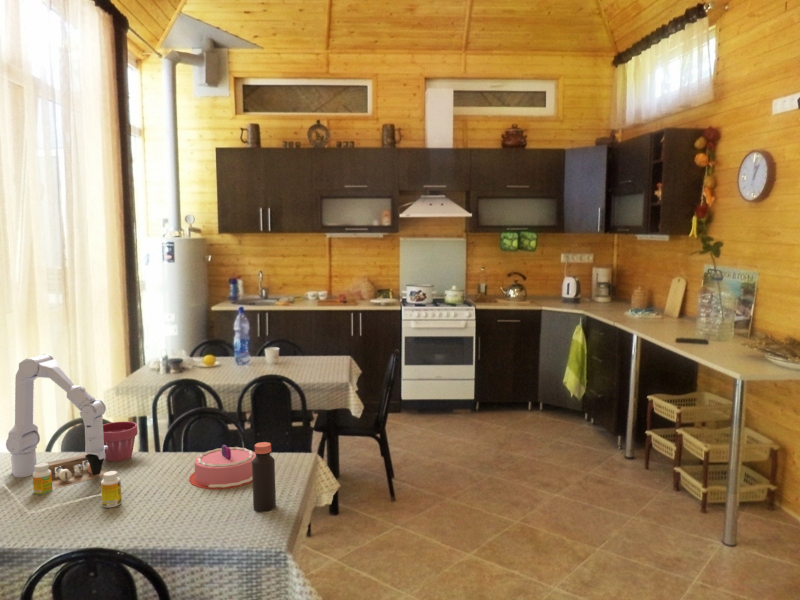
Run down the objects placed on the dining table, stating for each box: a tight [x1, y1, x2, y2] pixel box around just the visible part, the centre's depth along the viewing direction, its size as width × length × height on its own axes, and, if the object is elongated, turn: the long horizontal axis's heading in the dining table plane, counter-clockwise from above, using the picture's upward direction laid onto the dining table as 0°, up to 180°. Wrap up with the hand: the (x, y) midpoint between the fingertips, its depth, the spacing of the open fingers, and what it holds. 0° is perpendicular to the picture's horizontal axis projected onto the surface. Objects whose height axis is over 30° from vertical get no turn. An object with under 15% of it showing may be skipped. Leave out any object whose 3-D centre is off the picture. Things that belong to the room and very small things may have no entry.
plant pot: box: [103, 421, 139, 462], centre depth 240 cm, size 14×14×13 cm
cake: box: [188, 444, 256, 490], centre depth 222 cm, size 25×25×11 cm
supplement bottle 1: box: [32, 462, 53, 495], centre depth 207 cm, size 5×5×10 cm
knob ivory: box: [55, 466, 72, 481], centre depth 218 cm, size 9×4×4 cm, turn 43°
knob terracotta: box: [83, 460, 92, 474], centre depth 225 cm, size 9×4×4 cm, turn 43°
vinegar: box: [252, 441, 277, 513], centre depth 194 cm, size 7×7×20 cm
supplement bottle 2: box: [100, 470, 122, 509], centre depth 198 cm, size 6×6×10 cm
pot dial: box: [74, 464, 83, 478], centre depth 220 cm, size 3×3×4 cm
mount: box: [46, 453, 107, 489], centre depth 222 cm, size 16×17×6 cm
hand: (96, 474), depth 220 cm, fingers closed
